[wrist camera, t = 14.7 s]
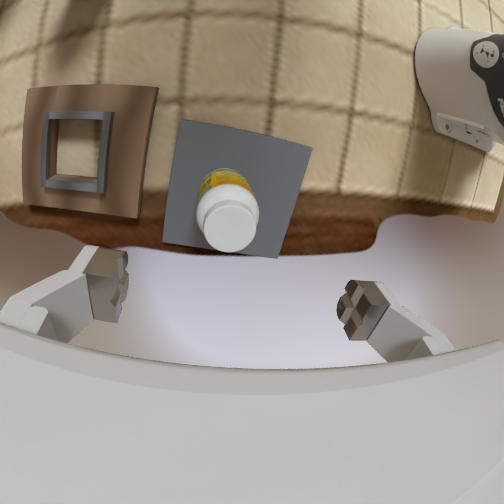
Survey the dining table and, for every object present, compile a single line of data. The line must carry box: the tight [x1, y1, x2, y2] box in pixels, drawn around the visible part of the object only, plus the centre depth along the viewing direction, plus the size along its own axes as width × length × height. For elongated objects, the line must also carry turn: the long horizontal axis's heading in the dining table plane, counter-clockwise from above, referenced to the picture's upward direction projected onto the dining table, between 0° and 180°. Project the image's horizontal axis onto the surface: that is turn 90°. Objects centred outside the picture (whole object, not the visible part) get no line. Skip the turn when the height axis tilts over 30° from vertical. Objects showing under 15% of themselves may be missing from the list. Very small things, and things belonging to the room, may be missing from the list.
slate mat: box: [162, 119, 312, 259], centre depth 29 cm, size 14×14×1 cm
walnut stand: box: [22, 84, 159, 218], centre depth 23 cm, size 16×14×2 cm
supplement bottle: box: [196, 168, 259, 252], centre depth 25 cm, size 5×5×10 cm
